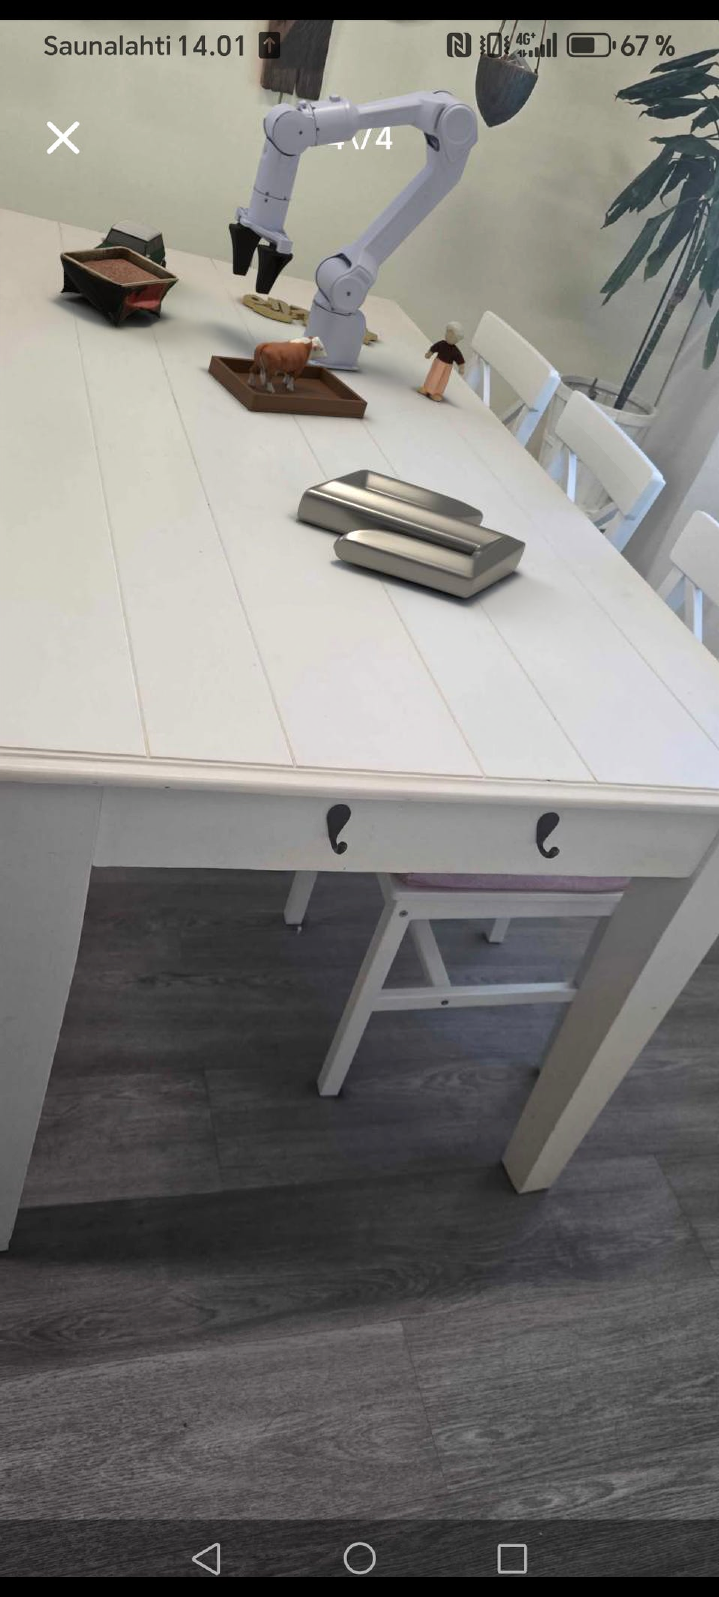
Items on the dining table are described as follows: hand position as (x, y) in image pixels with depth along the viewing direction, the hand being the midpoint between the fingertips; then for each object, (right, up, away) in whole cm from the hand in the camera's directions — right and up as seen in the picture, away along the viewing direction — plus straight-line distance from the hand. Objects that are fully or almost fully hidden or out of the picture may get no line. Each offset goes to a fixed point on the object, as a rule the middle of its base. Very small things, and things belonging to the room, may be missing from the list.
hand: (250, 283), depth 193 cm
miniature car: (-23, +8, +16) cm, 29 cm away
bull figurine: (+5, -19, -7) cm, 21 cm away
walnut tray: (+6, -20, -7) cm, 22 cm away
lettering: (+8, +5, +27) cm, 29 cm away
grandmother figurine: (+30, -13, +14) cm, 35 cm away
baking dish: (-22, -4, 0) cm, 22 cm away
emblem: (+23, -49, -38) cm, 66 cm away
